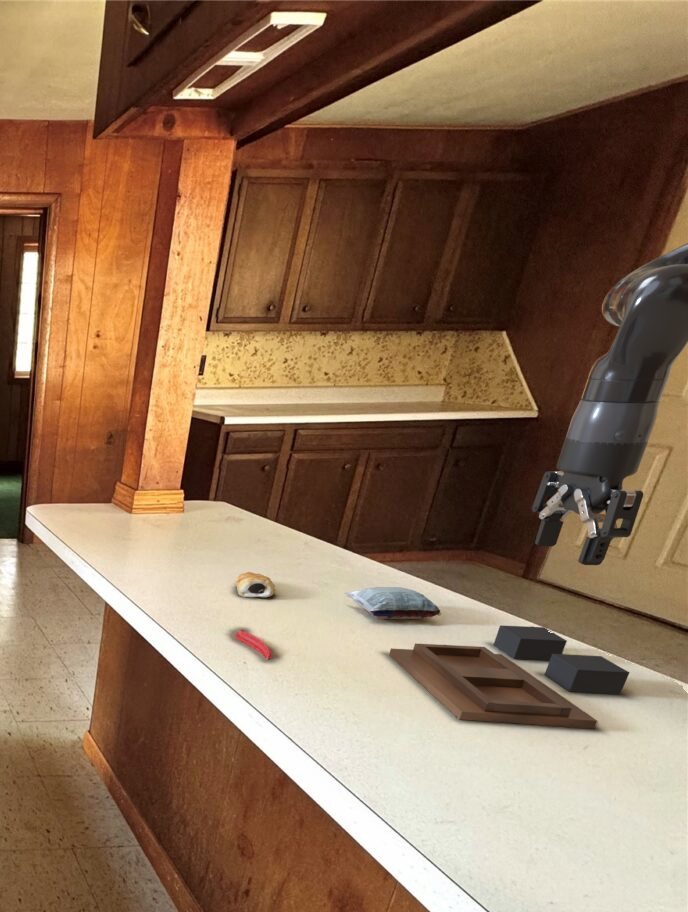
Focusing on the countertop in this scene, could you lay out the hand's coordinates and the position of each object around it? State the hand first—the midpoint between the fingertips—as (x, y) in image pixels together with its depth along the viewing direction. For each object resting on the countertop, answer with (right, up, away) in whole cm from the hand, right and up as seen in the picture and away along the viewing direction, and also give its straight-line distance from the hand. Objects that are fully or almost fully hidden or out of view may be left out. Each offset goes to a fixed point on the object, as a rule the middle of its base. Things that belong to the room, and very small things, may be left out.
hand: (565, 554), depth 92 cm
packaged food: (-4, -9, +27) cm, 29 cm away
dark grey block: (+5, -18, +2) cm, 19 cm away
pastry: (-22, -5, +39) cm, 45 cm away
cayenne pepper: (-34, -14, +18) cm, 41 cm away
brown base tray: (-10, -19, +2) cm, 21 cm away
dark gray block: (+6, -15, +11) cm, 19 cm away
